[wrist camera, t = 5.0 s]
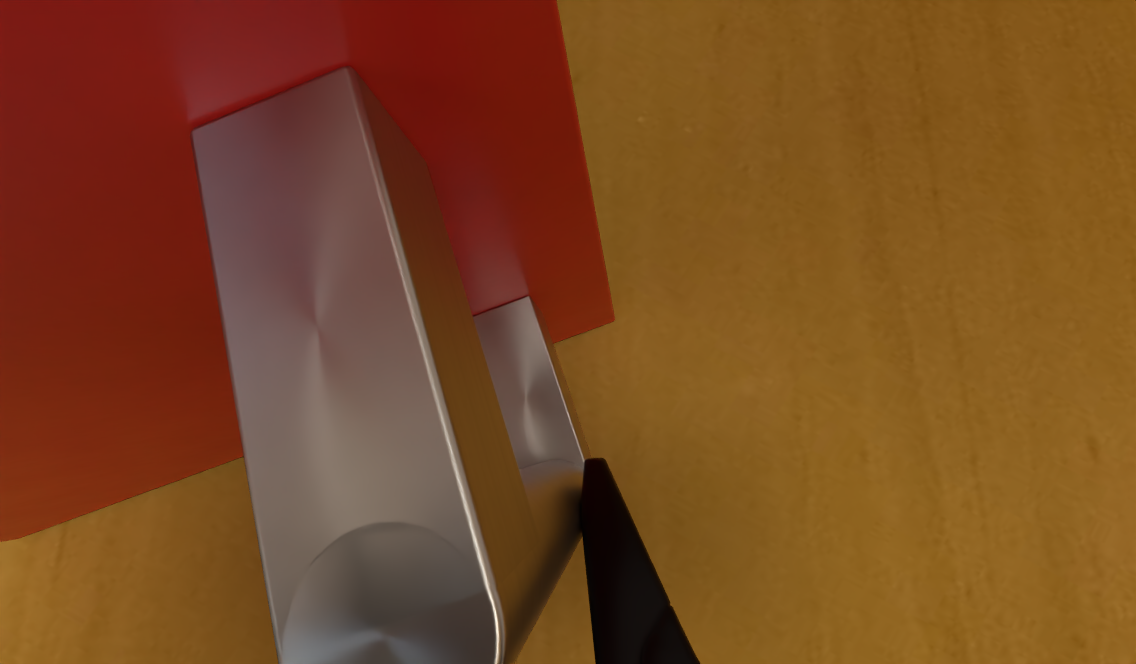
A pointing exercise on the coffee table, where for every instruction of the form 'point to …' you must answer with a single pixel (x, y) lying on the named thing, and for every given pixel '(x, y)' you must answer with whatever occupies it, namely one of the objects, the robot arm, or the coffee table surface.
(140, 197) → the cupboard door
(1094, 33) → the coffee table surface
